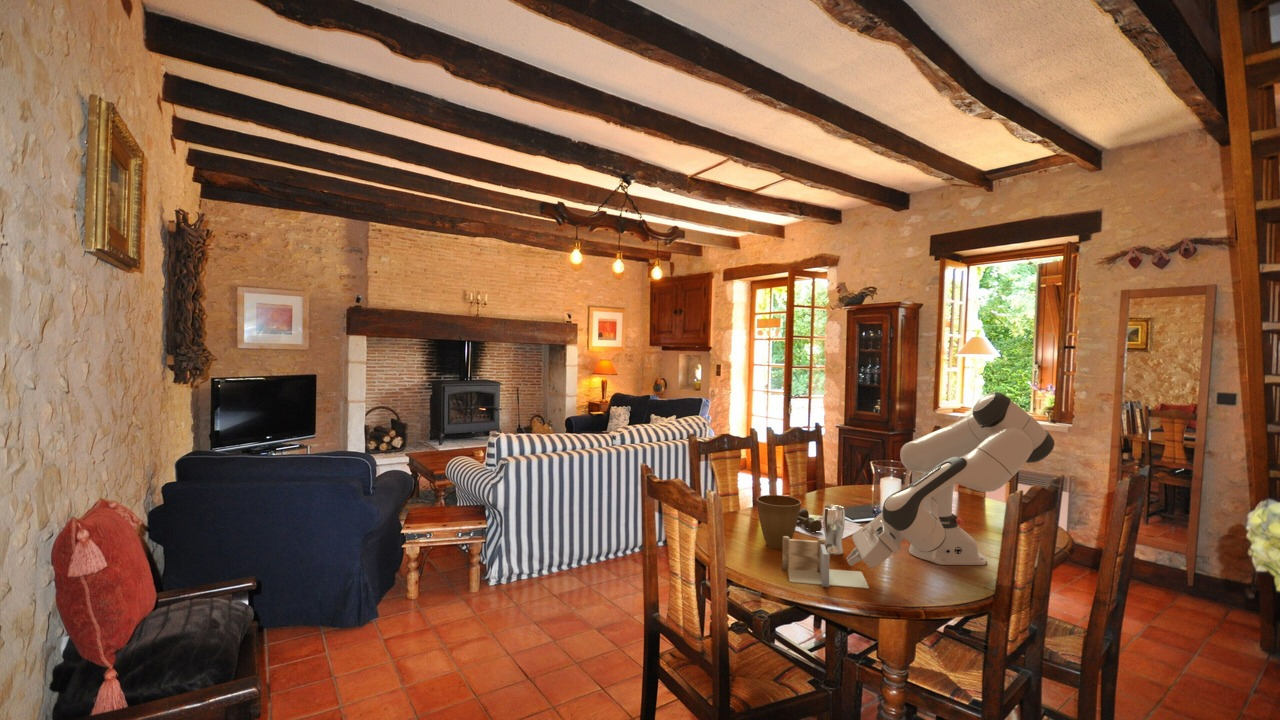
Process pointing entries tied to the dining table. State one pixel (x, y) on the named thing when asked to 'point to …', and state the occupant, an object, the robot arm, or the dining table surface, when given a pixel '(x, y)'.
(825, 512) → the beer glass
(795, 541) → the fence fixed section
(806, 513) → the kendama
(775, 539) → the plant pot
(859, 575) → the card
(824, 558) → the fence gate
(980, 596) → the dining table surface
